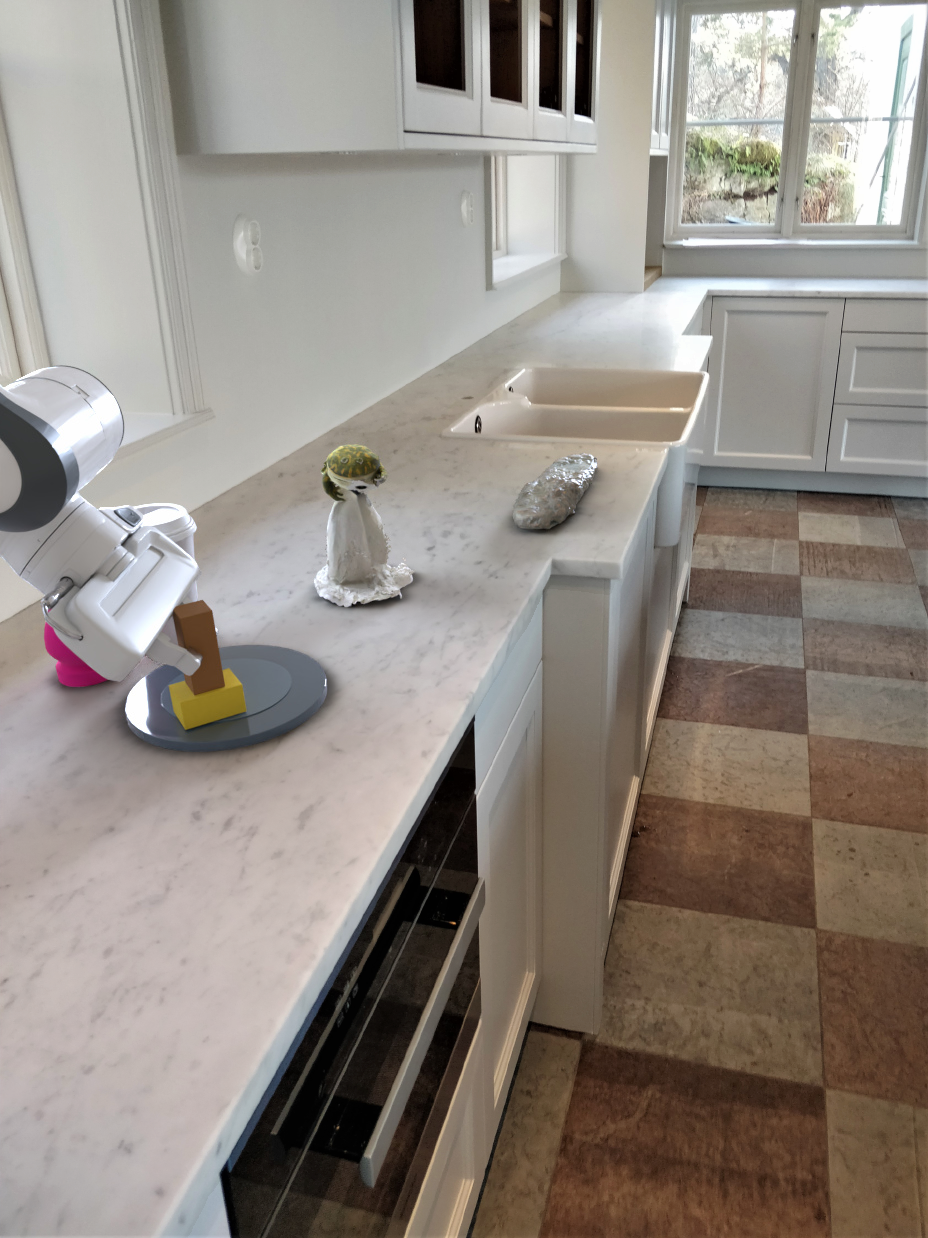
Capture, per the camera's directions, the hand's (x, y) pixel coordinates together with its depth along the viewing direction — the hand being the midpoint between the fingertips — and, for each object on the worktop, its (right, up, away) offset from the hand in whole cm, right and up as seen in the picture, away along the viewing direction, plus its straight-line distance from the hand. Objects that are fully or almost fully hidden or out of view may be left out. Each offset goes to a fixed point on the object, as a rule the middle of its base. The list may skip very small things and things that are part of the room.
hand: (205, 653), depth 90 cm
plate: (0, -5, +8) cm, 9 cm away
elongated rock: (+39, +22, +62) cm, 77 cm away
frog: (+12, +7, +33) cm, 35 cm away
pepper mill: (-16, -3, +14) cm, 22 cm away
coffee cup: (-10, +1, +21) cm, 24 cm away
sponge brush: (0, -6, +3) cm, 6 cm away
